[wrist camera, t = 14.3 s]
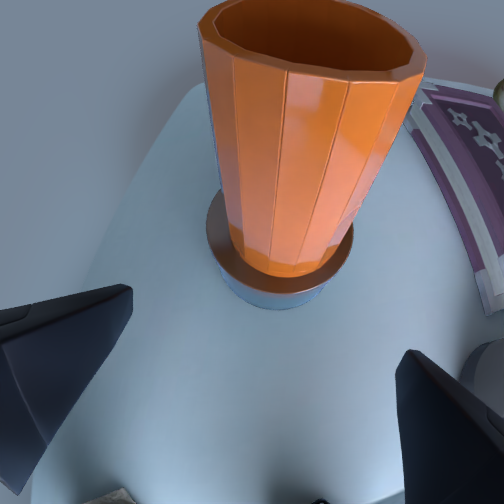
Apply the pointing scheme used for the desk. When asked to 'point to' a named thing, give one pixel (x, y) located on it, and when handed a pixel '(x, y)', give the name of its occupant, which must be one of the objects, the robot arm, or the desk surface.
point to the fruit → (499, 95)
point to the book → (467, 173)
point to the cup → (301, 119)
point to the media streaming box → (486, 375)
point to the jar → (258, 283)
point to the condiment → (113, 498)
